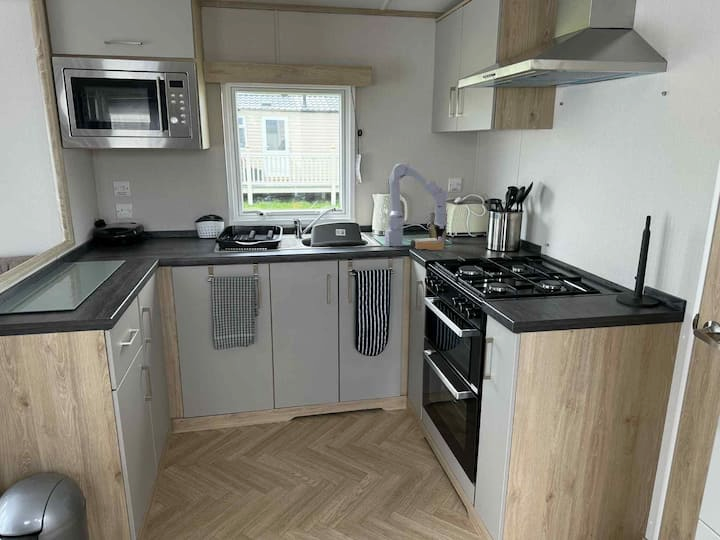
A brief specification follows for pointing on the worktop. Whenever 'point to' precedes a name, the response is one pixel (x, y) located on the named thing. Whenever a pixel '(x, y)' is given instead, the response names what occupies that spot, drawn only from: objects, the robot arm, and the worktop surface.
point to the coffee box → (432, 229)
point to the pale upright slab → (415, 241)
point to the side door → (432, 245)
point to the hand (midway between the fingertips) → (439, 240)
